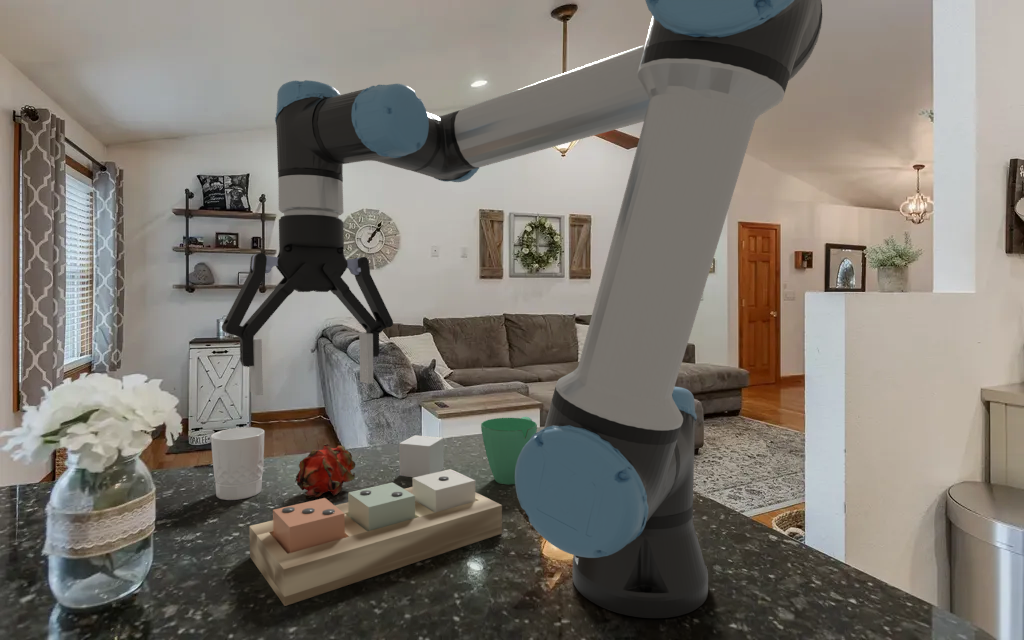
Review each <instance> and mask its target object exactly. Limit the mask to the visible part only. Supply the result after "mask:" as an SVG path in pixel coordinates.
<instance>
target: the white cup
mask: <svg viewBox="0 0 1024 640" xmlns="http://www.w3.org/2000/svg"><path fill="white" fill-rule="evenodd" d="M210 440H211V441H210V443H211V456H212V466H213V467H212V468H213V478H214V480H215V496H216V497H217V498H218V499H219V500H224V501H238V500H242V499H243V500H244V499H248V498H251V497H255V496H256V495H258V494H260V493H261V492H262V488H263V487H262V486H263V485H262V484H263V473H264V458H265V453H264V452H265V430H264V429H263V428H261V427H251V426H250V427H249V426H247V427H237V428H236V427H235V428H228V429H223V430H219V431H217V432H214V433H212V434H211V435H210Z"/></svg>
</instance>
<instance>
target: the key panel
mask: <svg viewBox="0 0 1024 640" xmlns="http://www.w3.org/2000/svg"><path fill="white" fill-rule="evenodd" d="M404 489H405V490H406V491H408V492H410V493H411V494H413V486H410V487H407V488H404ZM334 505H335V504H334ZM335 506H336V507H337V508H338V509H340V510H341V511H342V512H343V513H344V514H345V538H342V539H339V540H335V541H332V542H328V543H324V544H321V545H317V546H314V547H310V548H306V549H303V550H299V551H296V552H292V553H289V554H287V553H286V551H285V550H284V549H283V548H282V547H281V546H280V544H279V543H278V542H277V541H276V540H275V539H274V537H273V519H272V520H268V521H264V522H260V523H257V524H252V525H249V558H250V559H251V561H252V562H253V563H254V565H255V566H256V567H257V569H258V570H259V572H260V573H261V574H262V576H263V577H264V578H263V579H265V580H266V581H267V583H268V585H269V586H270V588H271V589H272V591H273V592H274V594H275V595H276V596H277V597H278V598H279V600H280V601H281V603H282V605H283V606H284V607H285V606H286V607H287V606H289V605H292V604H295V603H298V602H301V601H304V600H307V599H310V598H313V597H317V596H320V595H323V594H325V593H328V592H331V591H334V590H337V589H340V588H343V587H346V586H348V585H352V584H355V583H358V582H361V581H365V580H368V579H370V578H373V577H376V576H379V575H382V574H385V573H388V572H391V571H394V570H397V569H400V568H403V567H406V566H409V565H411V564H415V563H418V562H420V561H424V560H427V559H430V558H433V557H437V556H439V555H442V554H445V553H448V552H451V551H454V550H457V549H460V548H463V547H466V546H469V545H472V544H475V543H478V542H480V541H483V540H484V541H485V540H487V539H490V538H494V537H497V536H499V535H503V531H502V530H503V527H502V526H503V505H502V504H500V503H499V502H496V501H494V500H492V499H490V498H488V497H487V496H484V495H482V494H480V493H478V492H476V491H475V502H471V503H468V504H464V505H460V506H457V507H453V508H450V509H446V510H442V511H439V512H433V511H431V510H430V509H428V508H426V507H425V506H423V505H421V504H420V503H418V502H416V501H415V518H414V519H410V520H407V521H403V522H400V523H396V524H392V525H389V526H385V527H382V528H378V529H374V530H371V531H366V530H365V529H364V528H362V527H361V526H360V525H359V524H357V523H356V522H355V521H354V520H352V519H351V518H350V517H349V516H348V501H347V502H344V503H339V504H336V505H335Z"/></svg>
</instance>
